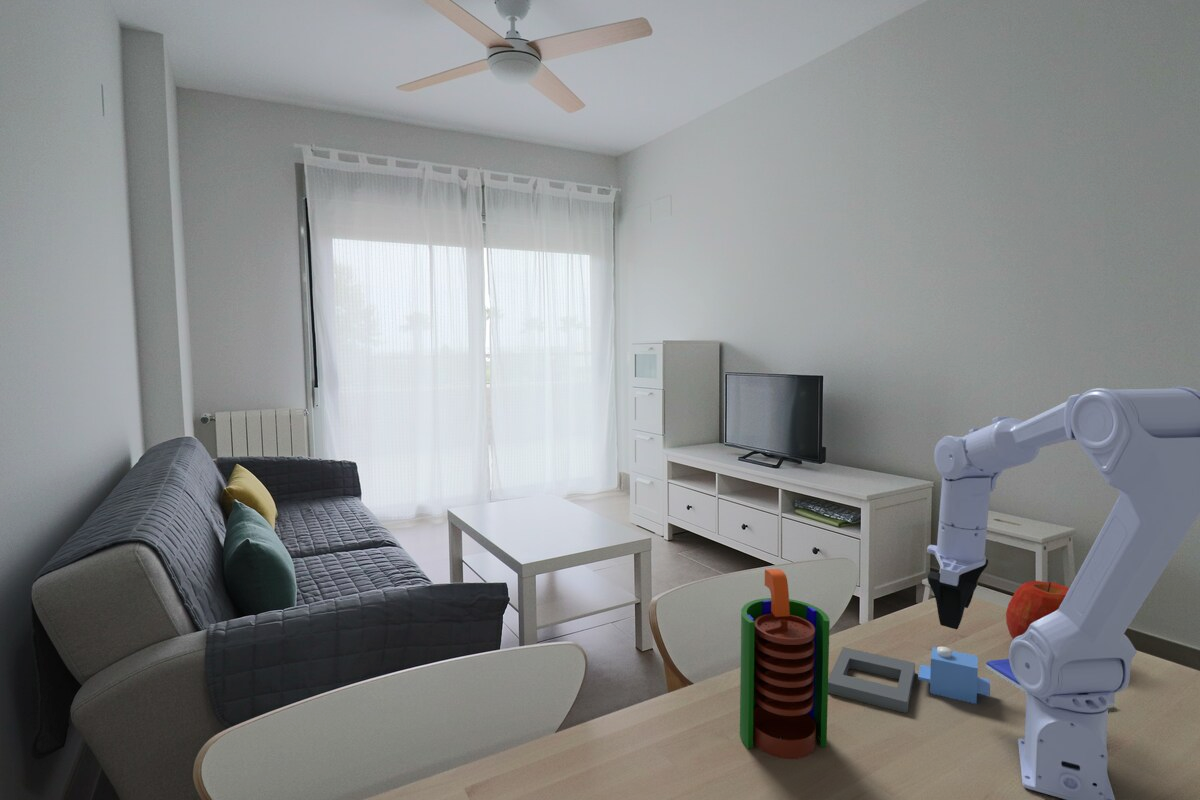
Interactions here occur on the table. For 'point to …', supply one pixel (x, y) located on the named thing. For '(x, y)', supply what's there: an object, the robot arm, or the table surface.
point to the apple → (1033, 604)
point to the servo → (954, 675)
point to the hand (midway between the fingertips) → (954, 615)
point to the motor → (783, 672)
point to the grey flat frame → (867, 689)
